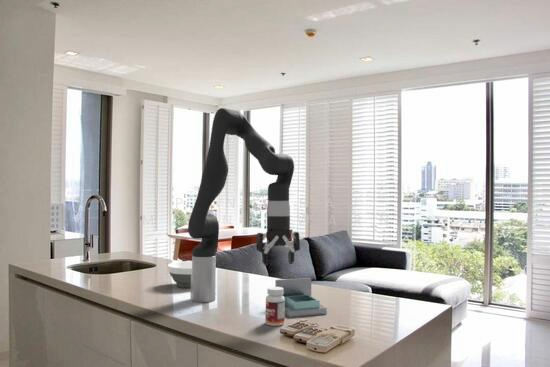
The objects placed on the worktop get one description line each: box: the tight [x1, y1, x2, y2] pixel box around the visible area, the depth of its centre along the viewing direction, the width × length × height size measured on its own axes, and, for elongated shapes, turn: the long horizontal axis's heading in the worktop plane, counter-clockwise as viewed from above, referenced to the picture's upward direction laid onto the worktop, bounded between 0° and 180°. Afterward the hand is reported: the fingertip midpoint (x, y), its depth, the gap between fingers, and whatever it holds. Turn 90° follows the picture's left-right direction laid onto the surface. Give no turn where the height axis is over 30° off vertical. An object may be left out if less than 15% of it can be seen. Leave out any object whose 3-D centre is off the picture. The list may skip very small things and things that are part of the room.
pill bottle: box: [264, 286, 286, 327], centre depth 141 cm, size 6×6×11 cm
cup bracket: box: [274, 277, 328, 318], centre depth 157 cm, size 14×14×10 cm
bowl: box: [167, 260, 192, 289], centre depth 197 cm, size 20×20×10 cm
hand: (278, 264), depth 143 cm, fingers open, 8 cm apart
